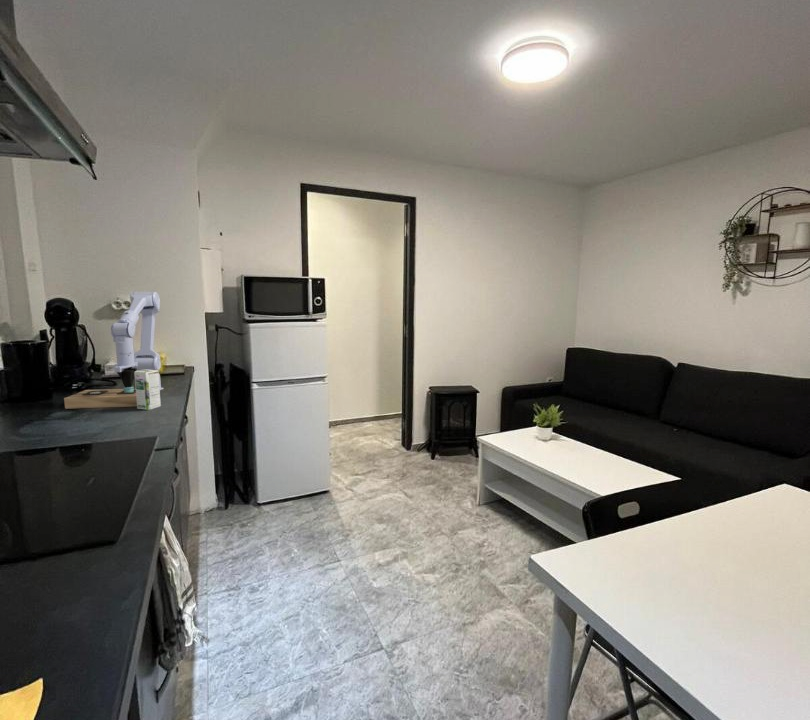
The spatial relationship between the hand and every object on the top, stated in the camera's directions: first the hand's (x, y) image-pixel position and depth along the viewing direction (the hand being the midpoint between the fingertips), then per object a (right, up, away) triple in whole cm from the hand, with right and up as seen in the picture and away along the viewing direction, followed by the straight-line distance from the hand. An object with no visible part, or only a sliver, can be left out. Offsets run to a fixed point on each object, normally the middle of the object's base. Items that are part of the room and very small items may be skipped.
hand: (128, 387), depth 163 cm
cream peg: (-12, -6, -1) cm, 13 cm away
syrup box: (+13, -8, -7) cm, 16 cm away
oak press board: (-6, -6, 0) cm, 9 cm away
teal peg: (0, -4, +1) cm, 4 cm away
